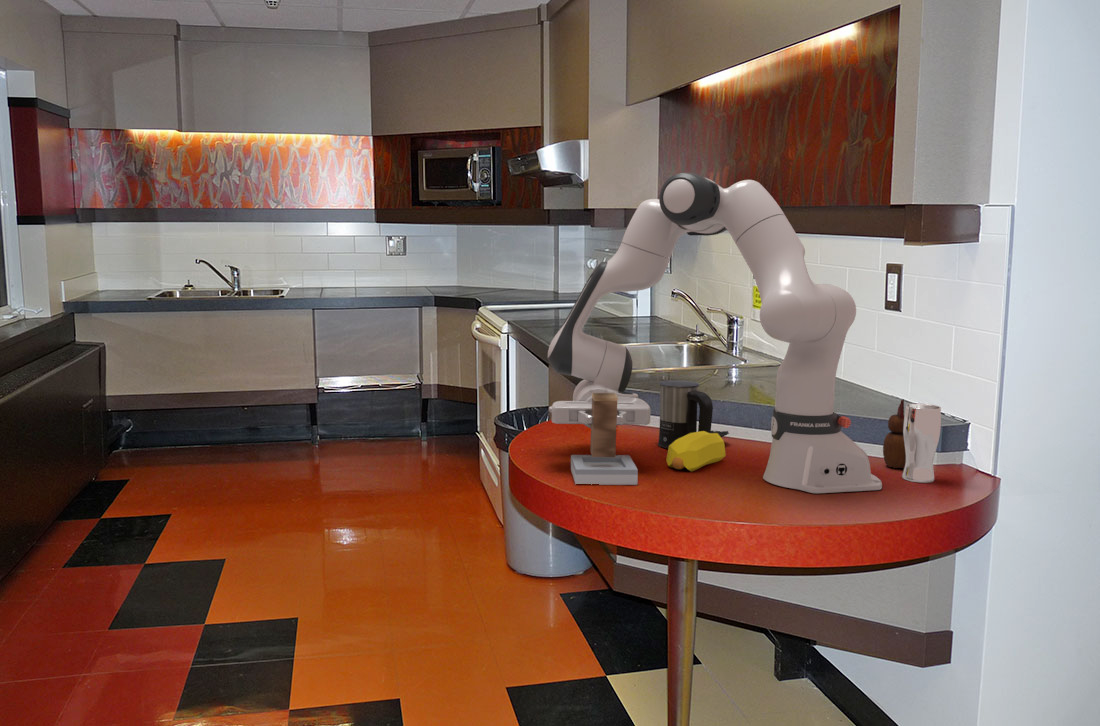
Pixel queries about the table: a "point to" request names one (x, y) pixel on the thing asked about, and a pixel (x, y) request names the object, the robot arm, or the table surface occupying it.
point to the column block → (604, 424)
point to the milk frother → (683, 411)
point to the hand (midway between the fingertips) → (604, 420)
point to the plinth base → (604, 470)
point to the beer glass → (920, 441)
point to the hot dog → (695, 450)
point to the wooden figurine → (895, 440)
